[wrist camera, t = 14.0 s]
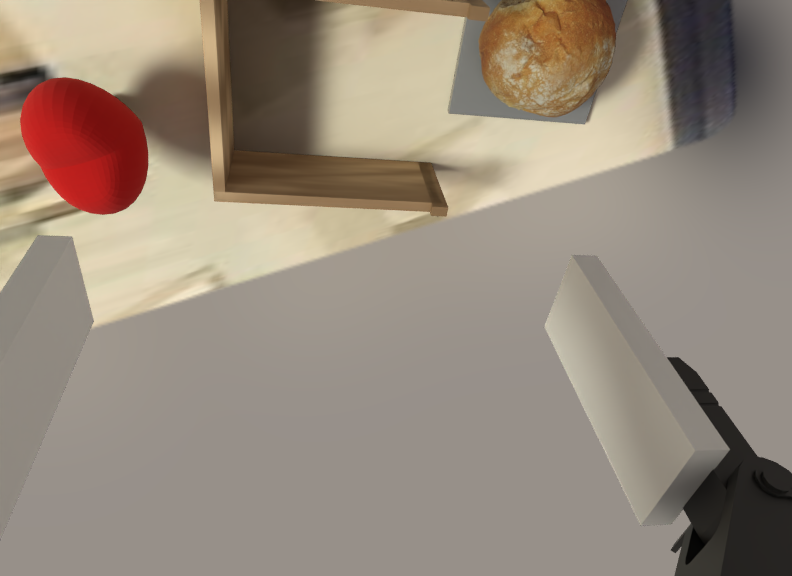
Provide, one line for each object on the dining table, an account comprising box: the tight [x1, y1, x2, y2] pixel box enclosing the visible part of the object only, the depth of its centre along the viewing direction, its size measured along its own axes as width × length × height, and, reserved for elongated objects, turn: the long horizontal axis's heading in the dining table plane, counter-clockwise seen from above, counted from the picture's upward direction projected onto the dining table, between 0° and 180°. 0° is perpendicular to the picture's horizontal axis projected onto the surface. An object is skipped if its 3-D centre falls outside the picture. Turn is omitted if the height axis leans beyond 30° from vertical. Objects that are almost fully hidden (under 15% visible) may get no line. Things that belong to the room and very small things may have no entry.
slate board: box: [448, 0, 627, 124], centre depth 44 cm, size 12×12×1 cm
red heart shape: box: [20, 78, 148, 215], centre depth 40 cm, size 9×7×10 cm
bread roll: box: [478, 0, 616, 117], centre depth 42 cm, size 10×10×8 cm
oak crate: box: [200, 0, 490, 216], centre depth 41 cm, size 15×17×8 cm
